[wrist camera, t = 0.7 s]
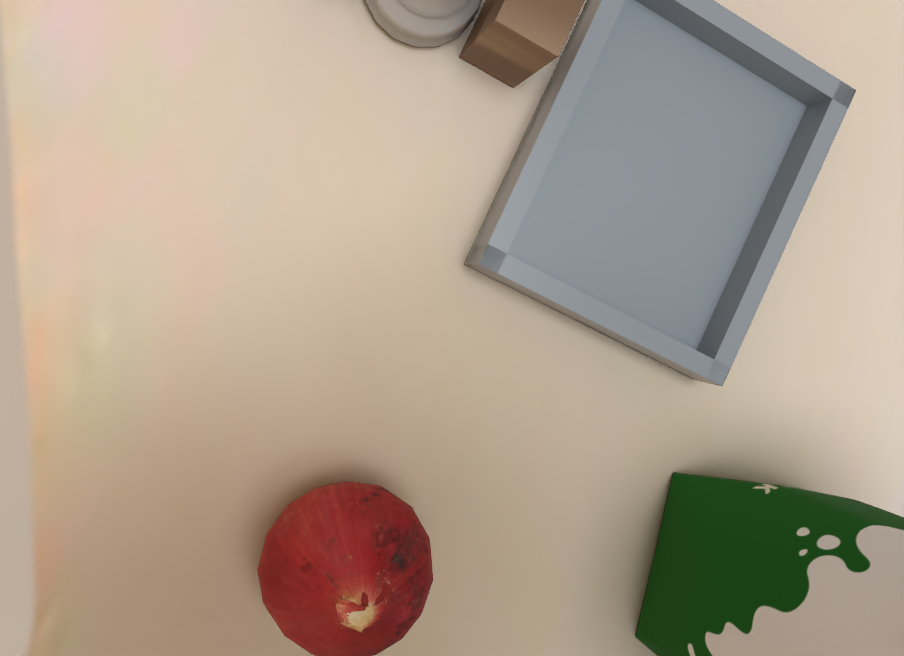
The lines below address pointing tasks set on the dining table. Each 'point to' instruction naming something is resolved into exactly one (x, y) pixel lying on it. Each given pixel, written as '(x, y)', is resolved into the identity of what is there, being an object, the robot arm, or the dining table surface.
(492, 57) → the walnut posts
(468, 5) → the rook chess piece
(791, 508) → the milk carton
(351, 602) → the red round fruit
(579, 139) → the tray
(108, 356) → the dining table surface
